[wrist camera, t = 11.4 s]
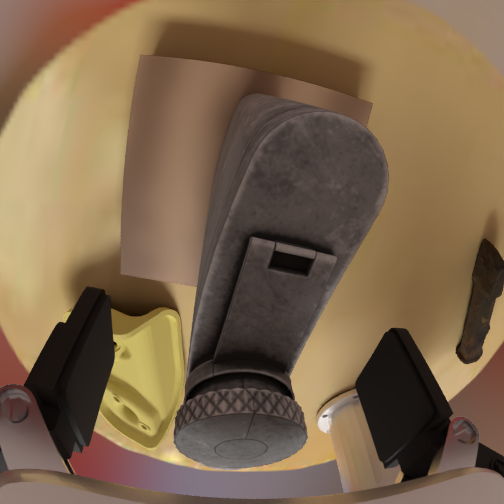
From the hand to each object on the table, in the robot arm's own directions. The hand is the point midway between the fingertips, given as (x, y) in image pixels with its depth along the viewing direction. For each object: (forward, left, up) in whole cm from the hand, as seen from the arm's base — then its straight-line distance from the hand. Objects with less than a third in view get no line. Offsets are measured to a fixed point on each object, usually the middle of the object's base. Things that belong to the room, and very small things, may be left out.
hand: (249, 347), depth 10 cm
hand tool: (-32, +8, -18) cm, 37 cm away
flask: (0, 0, -14) cm, 14 cm away
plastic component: (+9, +22, -18) cm, 30 cm away
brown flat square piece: (0, 0, -17) cm, 17 cm away
